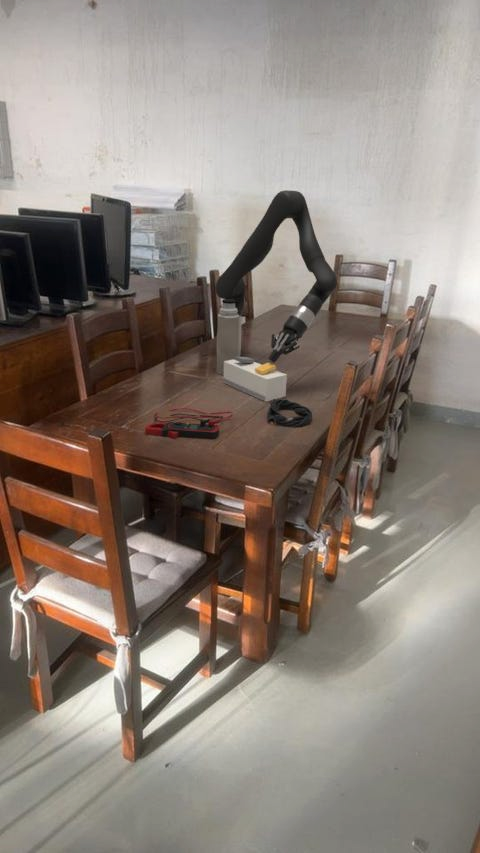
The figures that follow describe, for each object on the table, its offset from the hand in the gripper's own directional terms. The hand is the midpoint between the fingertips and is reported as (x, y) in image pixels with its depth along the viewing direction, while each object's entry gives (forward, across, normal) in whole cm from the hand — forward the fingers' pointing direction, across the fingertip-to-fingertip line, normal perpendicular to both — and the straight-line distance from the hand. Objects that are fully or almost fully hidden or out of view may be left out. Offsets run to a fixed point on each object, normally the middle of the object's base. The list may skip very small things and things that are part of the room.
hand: (271, 361), depth 203 cm
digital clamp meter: (+36, +7, -18) cm, 41 cm away
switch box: (+10, -6, +7) cm, 13 cm away
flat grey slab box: (+4, -12, 0) cm, 13 cm away
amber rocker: (+4, 0, 0) cm, 4 cm away
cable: (+15, +20, +2) cm, 25 cm away
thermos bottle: (+7, -27, +9) cm, 29 cm away
